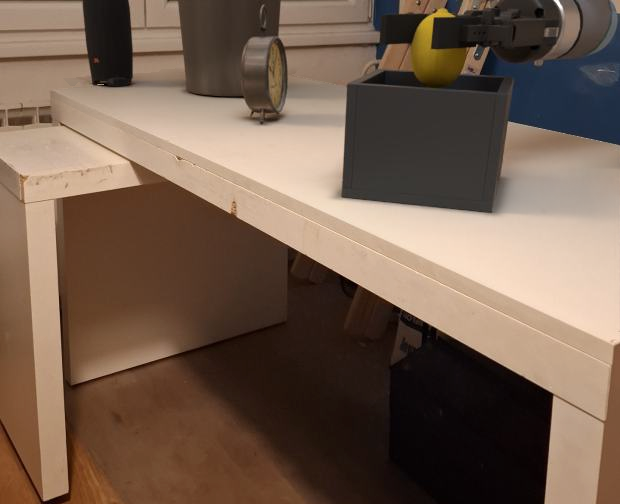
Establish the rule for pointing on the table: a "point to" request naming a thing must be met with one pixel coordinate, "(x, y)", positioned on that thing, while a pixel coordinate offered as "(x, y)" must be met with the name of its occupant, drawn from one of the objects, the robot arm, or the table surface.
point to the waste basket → (221, 40)
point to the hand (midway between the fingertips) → (409, 31)
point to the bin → (425, 139)
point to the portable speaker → (109, 41)
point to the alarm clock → (264, 73)
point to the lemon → (435, 56)
